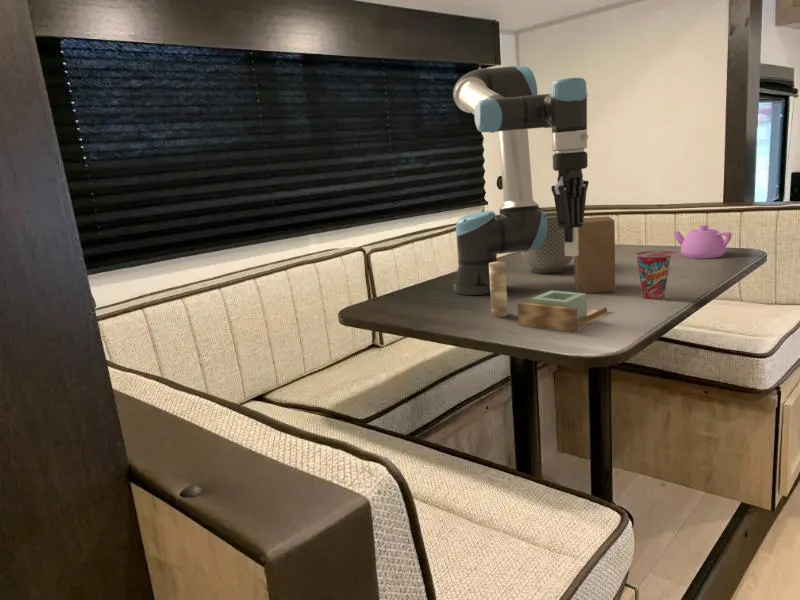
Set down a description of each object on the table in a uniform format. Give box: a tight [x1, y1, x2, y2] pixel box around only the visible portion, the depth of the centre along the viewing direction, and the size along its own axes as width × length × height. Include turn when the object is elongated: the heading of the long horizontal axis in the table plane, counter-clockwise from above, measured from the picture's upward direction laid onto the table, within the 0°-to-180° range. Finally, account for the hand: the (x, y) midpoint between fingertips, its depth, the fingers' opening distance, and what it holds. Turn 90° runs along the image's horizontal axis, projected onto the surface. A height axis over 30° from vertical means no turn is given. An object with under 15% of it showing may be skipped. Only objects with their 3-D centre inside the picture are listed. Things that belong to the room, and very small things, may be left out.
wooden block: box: [573, 216, 616, 294], centre depth 167 cm, size 10×10×20 cm
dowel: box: [489, 261, 509, 318], centre depth 146 cm, size 4×4×14 cm
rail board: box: [517, 301, 614, 333], centre depth 138 cm, size 14×19×6 cm
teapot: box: [672, 224, 732, 259], centre depth 203 cm, size 14×20×11 cm
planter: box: [520, 211, 574, 274], centre depth 200 cm, size 20×20×19 cm
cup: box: [635, 250, 678, 301], centre depth 151 cm, size 9×8×12 cm
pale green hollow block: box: [530, 289, 588, 321], centre depth 136 cm, size 9×9×6 cm
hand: (571, 255), depth 139 cm, fingers closed
